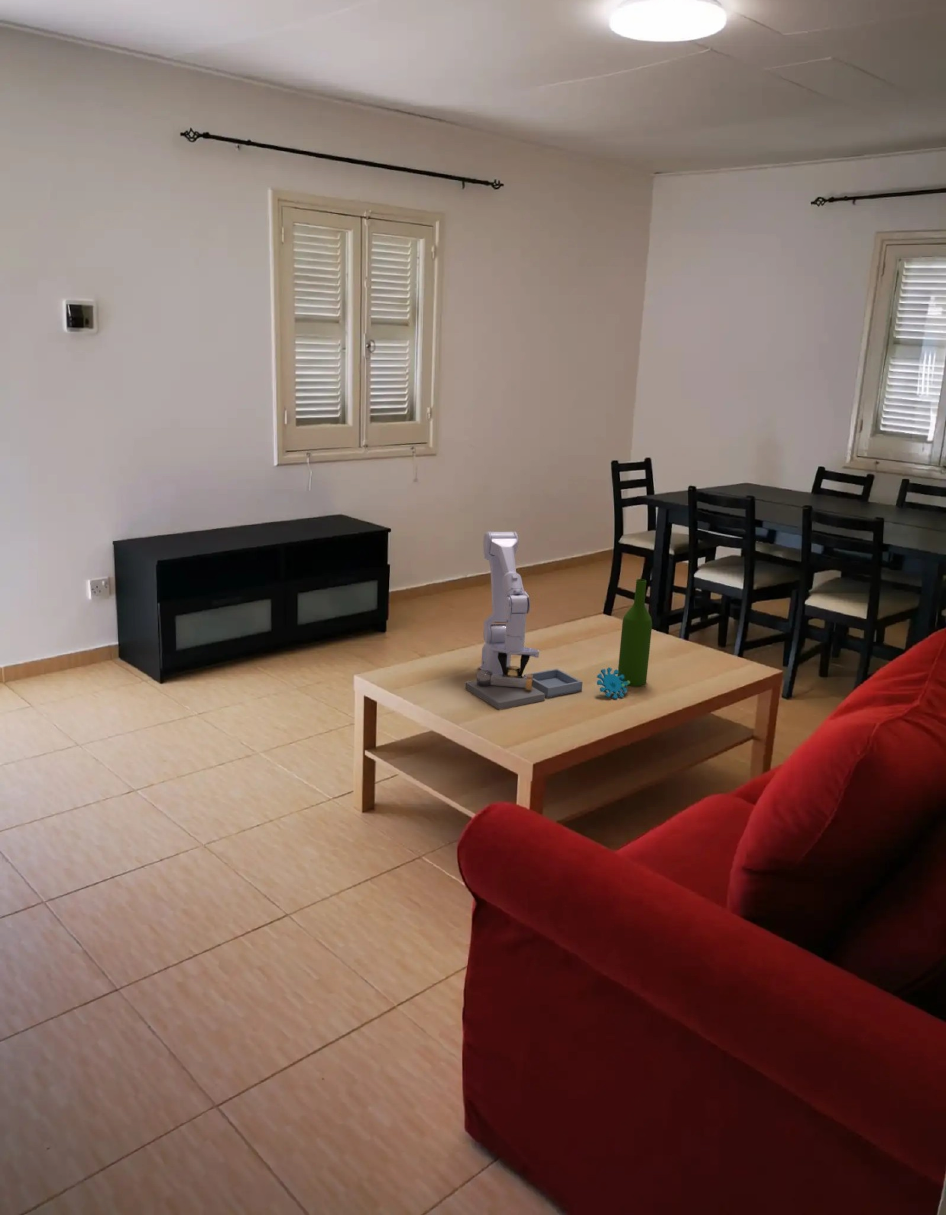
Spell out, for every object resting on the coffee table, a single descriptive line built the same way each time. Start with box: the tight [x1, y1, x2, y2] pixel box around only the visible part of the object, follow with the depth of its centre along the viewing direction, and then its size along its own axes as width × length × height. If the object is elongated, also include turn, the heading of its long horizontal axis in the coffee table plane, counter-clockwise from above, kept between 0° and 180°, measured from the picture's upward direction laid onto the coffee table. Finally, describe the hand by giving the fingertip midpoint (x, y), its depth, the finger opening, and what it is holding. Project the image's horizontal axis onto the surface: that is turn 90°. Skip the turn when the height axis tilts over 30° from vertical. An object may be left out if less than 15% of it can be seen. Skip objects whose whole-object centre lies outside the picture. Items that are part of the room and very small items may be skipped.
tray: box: [523, 668, 583, 699], centre depth 284 cm, size 13×13×3 cm
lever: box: [476, 669, 533, 690], centre depth 277 cm, size 16×5×4 cm, turn 83°
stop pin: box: [506, 665, 520, 688], centre depth 280 cm, size 4×4×6 cm
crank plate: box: [465, 679, 546, 710], centre depth 277 cm, size 18×16×2 cm
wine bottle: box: [617, 578, 653, 688], centre depth 288 cm, size 9×9×32 cm
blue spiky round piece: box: [596, 667, 630, 700], centre depth 281 cm, size 11×6×10 cm
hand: (512, 677), depth 280 cm, fingers closed on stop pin, 4 cm apart
